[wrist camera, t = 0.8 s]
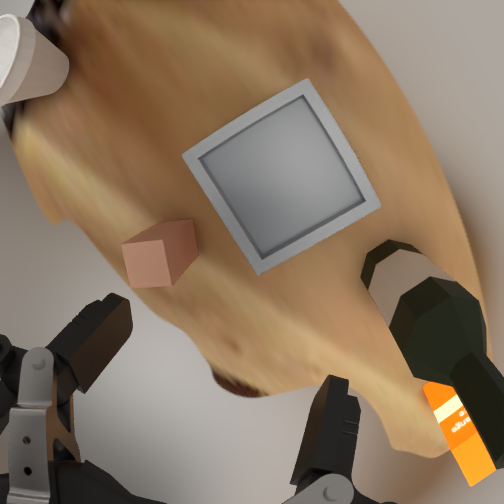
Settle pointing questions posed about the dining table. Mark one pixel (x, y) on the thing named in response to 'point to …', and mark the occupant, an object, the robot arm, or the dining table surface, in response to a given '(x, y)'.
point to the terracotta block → (160, 254)
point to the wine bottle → (439, 333)
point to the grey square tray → (282, 177)
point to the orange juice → (459, 432)
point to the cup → (28, 61)
